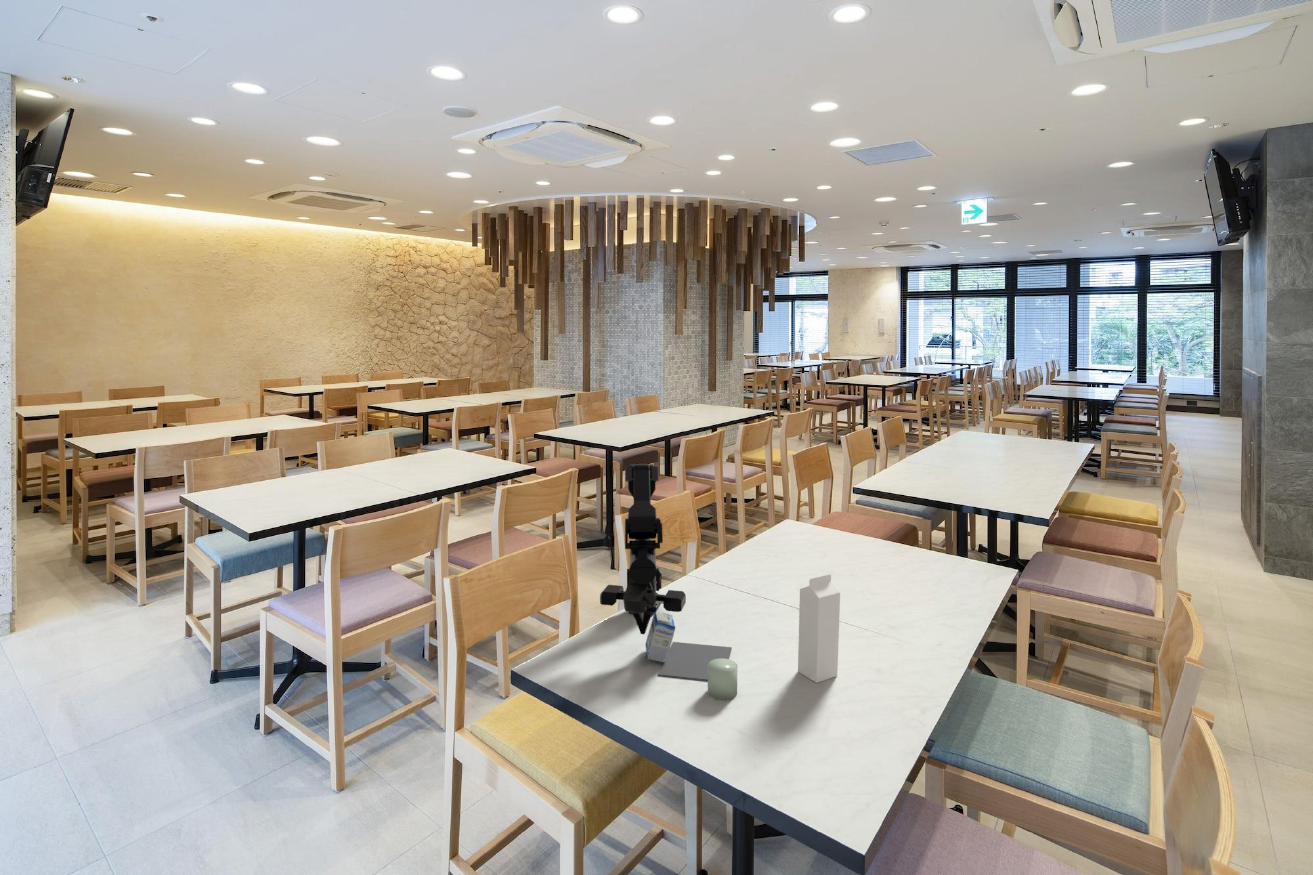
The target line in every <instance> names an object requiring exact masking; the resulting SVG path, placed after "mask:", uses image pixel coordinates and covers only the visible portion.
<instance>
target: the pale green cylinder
mask: <svg viewBox="0 0 1313 875" xmlns="http://www.w3.org/2000/svg"><path fill="white" fill-rule="evenodd" d="M707 694H708V697H710V698H712V699H714V700H716V701H730V700H733V699H735V698H736V697H737V695H738V663H736V662H735V661H734V660H732V659H730V658H729V659H722V658H721V659H714V660H712V661H710V662H709V663H708V681H707Z"/></svg>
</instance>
